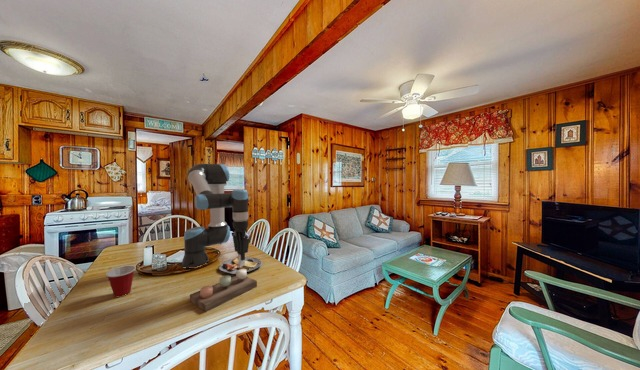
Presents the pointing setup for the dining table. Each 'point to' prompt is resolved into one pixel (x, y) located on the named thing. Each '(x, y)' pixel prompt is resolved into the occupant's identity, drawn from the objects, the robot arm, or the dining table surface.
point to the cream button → (241, 274)
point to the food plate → (232, 267)
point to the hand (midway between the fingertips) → (241, 265)
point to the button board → (223, 293)
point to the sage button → (225, 280)
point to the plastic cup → (121, 279)
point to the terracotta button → (206, 291)
